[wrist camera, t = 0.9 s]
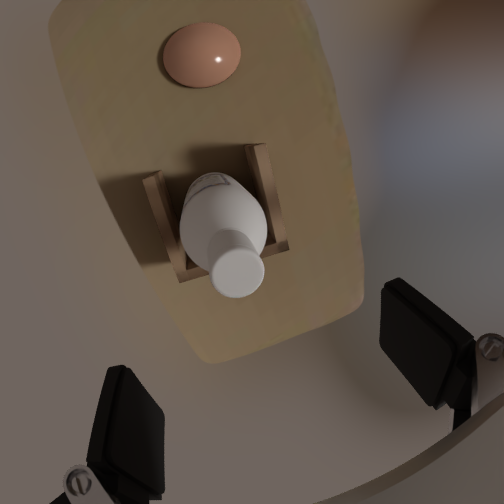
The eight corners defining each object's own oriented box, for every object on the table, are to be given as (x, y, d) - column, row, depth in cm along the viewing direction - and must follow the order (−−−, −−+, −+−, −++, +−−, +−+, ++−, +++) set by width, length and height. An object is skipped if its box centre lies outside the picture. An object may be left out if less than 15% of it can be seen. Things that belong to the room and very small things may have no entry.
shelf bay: (152, 173, 30) (142, 179, 24) (253, 143, 31) (265, 143, 25) (181, 261, 35) (179, 283, 29) (274, 232, 36) (289, 249, 30)
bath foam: (175, 212, 32) (150, 301, 14) (203, 161, 31) (210, 183, 12) (225, 237, 35) (258, 342, 16) (253, 189, 33) (324, 247, 15)
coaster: (157, 35, 23) (156, 33, 23) (230, 18, 24) (231, 16, 24) (172, 97, 27) (172, 96, 26) (247, 78, 28) (248, 77, 27)
